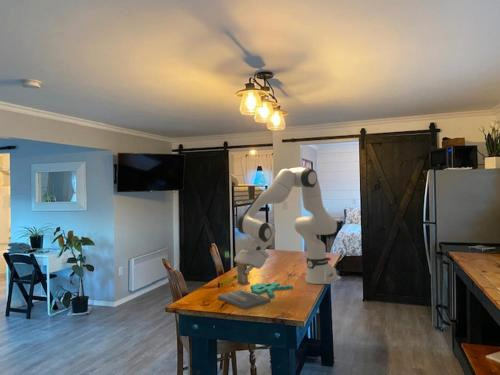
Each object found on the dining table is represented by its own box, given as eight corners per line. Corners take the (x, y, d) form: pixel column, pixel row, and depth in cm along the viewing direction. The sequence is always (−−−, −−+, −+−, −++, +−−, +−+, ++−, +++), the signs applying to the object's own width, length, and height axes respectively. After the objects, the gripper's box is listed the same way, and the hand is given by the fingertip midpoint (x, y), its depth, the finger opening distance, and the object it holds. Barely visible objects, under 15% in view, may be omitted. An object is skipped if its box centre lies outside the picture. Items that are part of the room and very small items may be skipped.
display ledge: (242, 291, 200) (242, 286, 200) (270, 301, 181) (270, 295, 181) (217, 298, 190) (217, 292, 190) (245, 309, 171) (244, 303, 171)
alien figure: (293, 289, 202) (264, 284, 215) (292, 285, 202) (264, 280, 215) (272, 299, 187) (242, 292, 200) (272, 294, 187) (242, 288, 200)
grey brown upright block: (243, 282, 189) (242, 261, 189) (249, 284, 185) (249, 262, 185) (235, 284, 186) (234, 262, 186) (242, 286, 182) (241, 264, 182)
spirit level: (219, 287, 211) (219, 282, 211) (218, 287, 211) (217, 282, 211) (249, 274, 239) (248, 270, 239) (247, 274, 240) (247, 270, 240)
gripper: (240, 244, 198) (226, 265, 192) (264, 248, 182) (249, 271, 176) (247, 251, 201) (233, 272, 195) (271, 256, 184) (257, 278, 179)
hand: (241, 271), depth 185 cm, fingers closed on grey brown upright block, 5 cm apart
